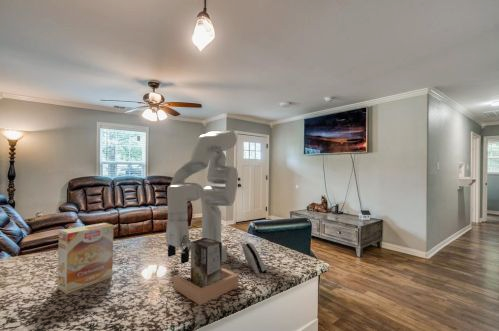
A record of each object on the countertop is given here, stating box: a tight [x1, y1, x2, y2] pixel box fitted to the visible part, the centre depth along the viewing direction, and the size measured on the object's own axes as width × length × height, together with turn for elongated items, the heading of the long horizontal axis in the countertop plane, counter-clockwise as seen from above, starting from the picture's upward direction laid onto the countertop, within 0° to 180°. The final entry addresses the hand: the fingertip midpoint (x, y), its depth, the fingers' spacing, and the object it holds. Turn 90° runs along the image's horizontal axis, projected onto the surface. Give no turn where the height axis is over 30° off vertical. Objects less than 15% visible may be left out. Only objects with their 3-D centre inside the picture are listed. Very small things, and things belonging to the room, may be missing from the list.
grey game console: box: [241, 242, 269, 275], centre depth 103 cm, size 17×5×10 cm, turn 15°
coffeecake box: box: [57, 222, 114, 295], centre depth 86 cm, size 15×7×20 cm, turn 148°
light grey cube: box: [222, 245, 228, 263], centre depth 108 cm, size 6×6×6 cm
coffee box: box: [190, 237, 223, 288], centre depth 82 cm, size 9×6×16 cm
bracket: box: [172, 267, 240, 306], centre depth 84 cm, size 15×16×4 cm
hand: (178, 259), depth 97 cm, fingers open, 9 cm apart
